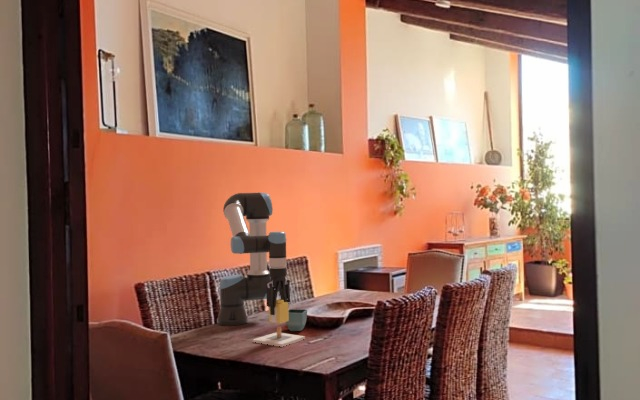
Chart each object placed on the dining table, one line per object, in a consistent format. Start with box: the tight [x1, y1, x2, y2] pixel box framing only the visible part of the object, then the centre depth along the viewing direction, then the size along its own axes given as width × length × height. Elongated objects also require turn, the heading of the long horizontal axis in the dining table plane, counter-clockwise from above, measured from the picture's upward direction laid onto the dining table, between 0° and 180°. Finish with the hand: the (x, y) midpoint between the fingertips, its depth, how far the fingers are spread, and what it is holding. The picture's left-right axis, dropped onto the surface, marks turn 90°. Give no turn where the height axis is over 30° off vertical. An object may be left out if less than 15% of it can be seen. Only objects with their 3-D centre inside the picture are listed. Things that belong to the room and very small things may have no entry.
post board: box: [252, 326, 306, 348], centre depth 253 cm, size 16×16×6 cm
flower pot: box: [285, 308, 308, 332], centre depth 273 cm, size 9×9×9 cm
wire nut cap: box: [268, 298, 289, 324], centre depth 253 cm, size 6×6×9 cm
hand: (279, 320), depth 253 cm, fingers closed on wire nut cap, 6 cm apart
